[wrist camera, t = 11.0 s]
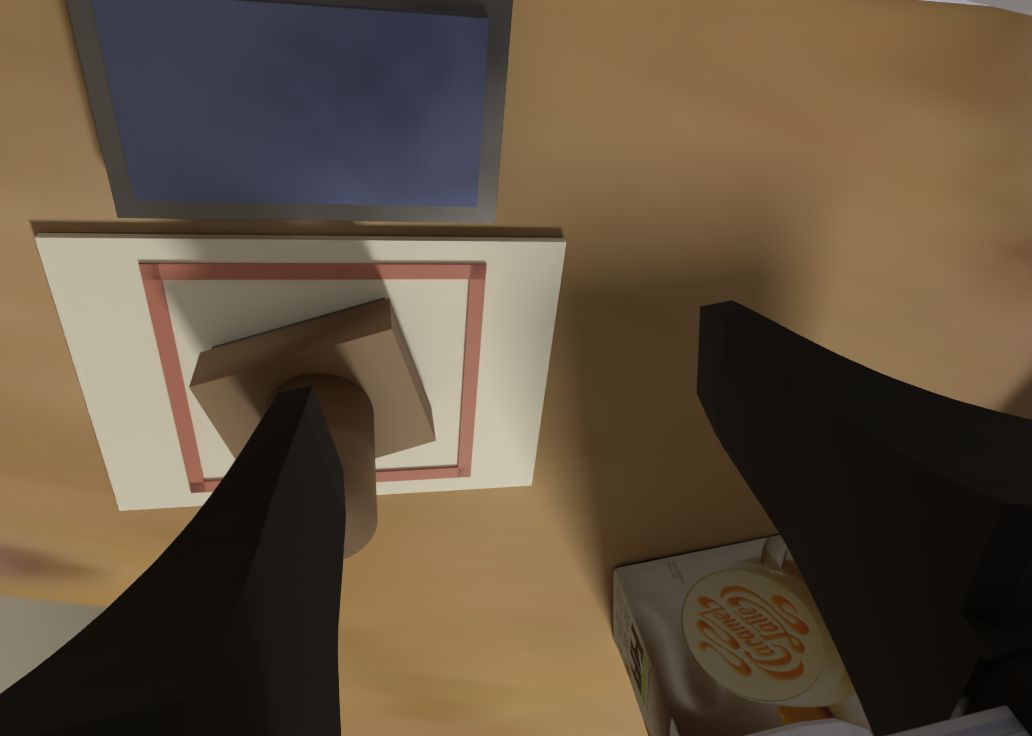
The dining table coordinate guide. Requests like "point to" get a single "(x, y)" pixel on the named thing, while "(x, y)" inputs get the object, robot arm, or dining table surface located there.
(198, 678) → the robot arm
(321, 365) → the stamp
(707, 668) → the coffee box
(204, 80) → the ink pad
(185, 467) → the sheet
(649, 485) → the dining table surface
